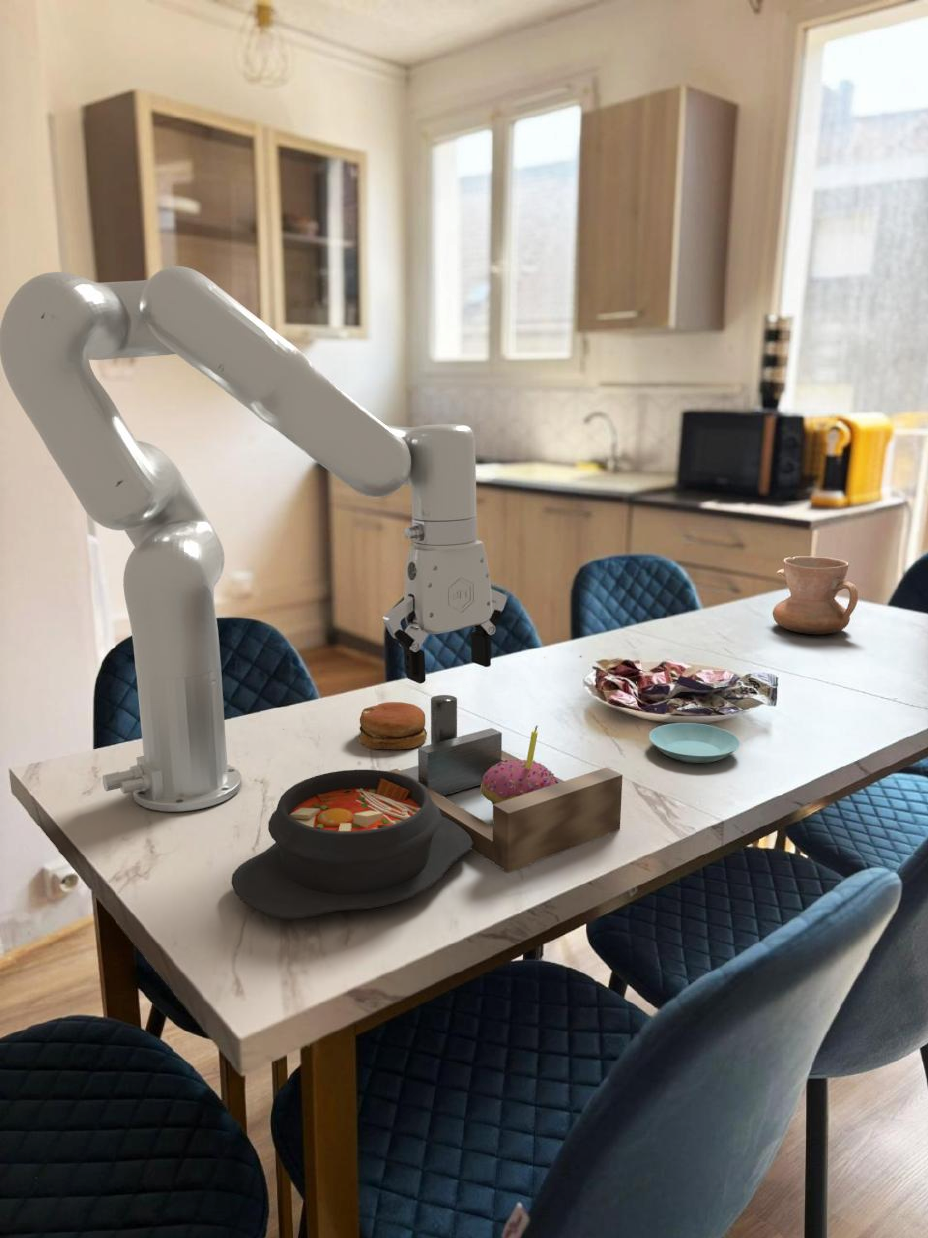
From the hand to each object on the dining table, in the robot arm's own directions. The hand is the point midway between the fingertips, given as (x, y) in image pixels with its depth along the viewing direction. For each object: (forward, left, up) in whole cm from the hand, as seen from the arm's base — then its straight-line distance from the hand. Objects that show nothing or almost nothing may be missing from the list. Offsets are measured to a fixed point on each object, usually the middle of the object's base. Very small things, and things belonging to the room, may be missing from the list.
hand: (449, 672), depth 112 cm
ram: (-1, -1, -14) cm, 14 cm away
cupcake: (-1, -14, -14) cm, 20 cm away
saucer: (+31, -12, -14) cm, 37 cm away
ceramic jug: (+100, +16, -14) cm, 103 cm away
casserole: (-21, -14, -14) cm, 29 cm away
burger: (+1, +16, -14) cm, 21 cm away
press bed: (-1, -10, -14) cm, 17 cm away
